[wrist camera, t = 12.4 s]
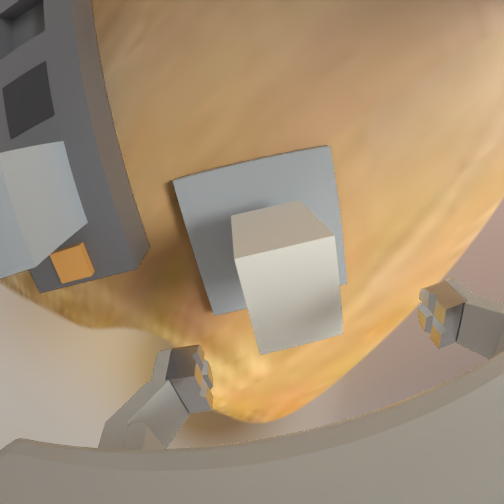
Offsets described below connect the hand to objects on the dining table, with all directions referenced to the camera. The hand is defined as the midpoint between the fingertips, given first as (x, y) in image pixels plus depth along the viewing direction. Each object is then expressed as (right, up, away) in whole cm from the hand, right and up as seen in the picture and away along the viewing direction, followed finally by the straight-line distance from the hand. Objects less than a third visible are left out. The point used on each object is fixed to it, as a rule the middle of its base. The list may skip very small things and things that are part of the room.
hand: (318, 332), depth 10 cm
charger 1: (-14, +6, +5) cm, 16 cm away
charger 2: (-1, +4, +10) cm, 11 cm away
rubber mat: (-1, +4, +11) cm, 11 cm away
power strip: (-16, +12, +6) cm, 21 cm away
